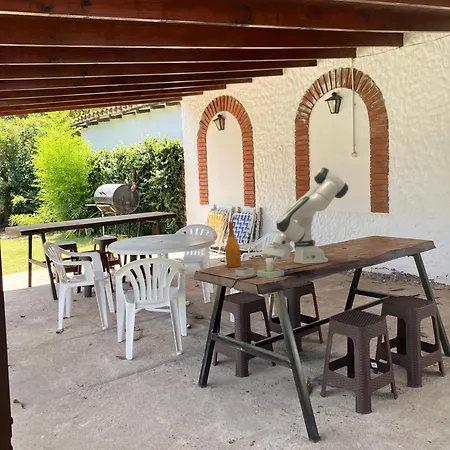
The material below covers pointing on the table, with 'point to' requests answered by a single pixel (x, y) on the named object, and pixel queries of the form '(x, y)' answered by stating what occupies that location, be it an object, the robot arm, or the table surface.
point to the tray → (270, 275)
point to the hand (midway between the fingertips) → (269, 263)
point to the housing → (245, 272)
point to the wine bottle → (232, 249)
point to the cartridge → (269, 263)
